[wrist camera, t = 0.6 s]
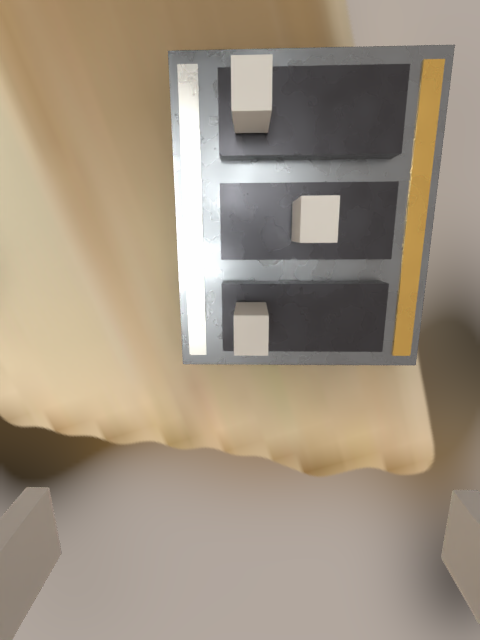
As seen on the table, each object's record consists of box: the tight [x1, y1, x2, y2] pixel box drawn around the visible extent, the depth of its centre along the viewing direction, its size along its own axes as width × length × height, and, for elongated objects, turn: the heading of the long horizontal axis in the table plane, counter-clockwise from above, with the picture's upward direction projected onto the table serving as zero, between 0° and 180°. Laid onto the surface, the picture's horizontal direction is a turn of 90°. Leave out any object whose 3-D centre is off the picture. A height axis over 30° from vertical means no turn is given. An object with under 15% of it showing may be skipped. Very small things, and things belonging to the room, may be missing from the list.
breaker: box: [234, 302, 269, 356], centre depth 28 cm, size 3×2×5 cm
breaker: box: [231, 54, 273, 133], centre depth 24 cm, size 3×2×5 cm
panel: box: [168, 45, 455, 365], centre depth 30 cm, size 26×22×4 cm
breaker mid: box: [291, 195, 340, 243], centre depth 26 cm, size 3×2×5 cm
